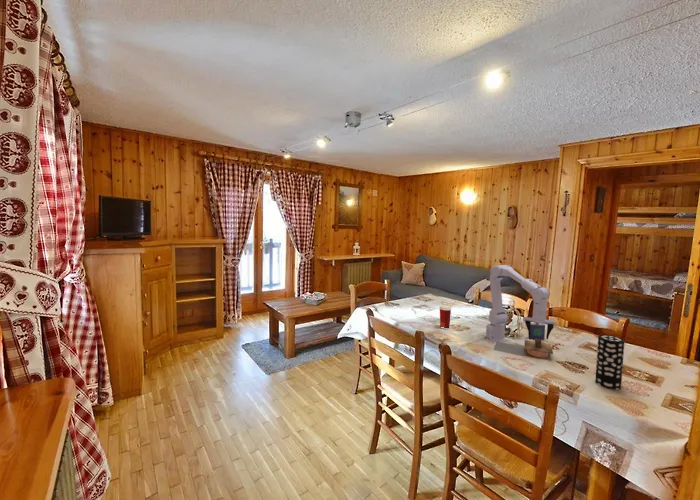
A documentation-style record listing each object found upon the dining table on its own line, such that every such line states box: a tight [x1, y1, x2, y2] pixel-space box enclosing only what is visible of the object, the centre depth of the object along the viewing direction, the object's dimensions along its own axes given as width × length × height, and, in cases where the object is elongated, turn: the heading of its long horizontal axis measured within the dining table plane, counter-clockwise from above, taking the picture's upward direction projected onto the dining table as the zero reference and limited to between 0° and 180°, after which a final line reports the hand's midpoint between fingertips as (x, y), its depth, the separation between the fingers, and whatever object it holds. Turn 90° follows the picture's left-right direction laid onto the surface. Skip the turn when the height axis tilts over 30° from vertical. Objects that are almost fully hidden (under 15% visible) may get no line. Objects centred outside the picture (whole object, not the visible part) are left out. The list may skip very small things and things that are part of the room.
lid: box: [524, 338, 554, 355], centre depth 157 cm, size 12×12×4 cm
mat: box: [493, 341, 526, 357], centre depth 164 cm, size 14×14×1 cm
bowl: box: [526, 349, 549, 359], centre depth 157 cm, size 9×9×4 cm
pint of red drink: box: [438, 304, 452, 329], centre depth 198 cm, size 8×8×14 cm
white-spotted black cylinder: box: [594, 334, 625, 391], centre depth 127 cm, size 8×8×20 cm
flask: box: [527, 322, 546, 341], centre depth 179 cm, size 9×3×11 cm, turn 88°
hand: (538, 336), depth 157 cm, fingers open, 7 cm apart
